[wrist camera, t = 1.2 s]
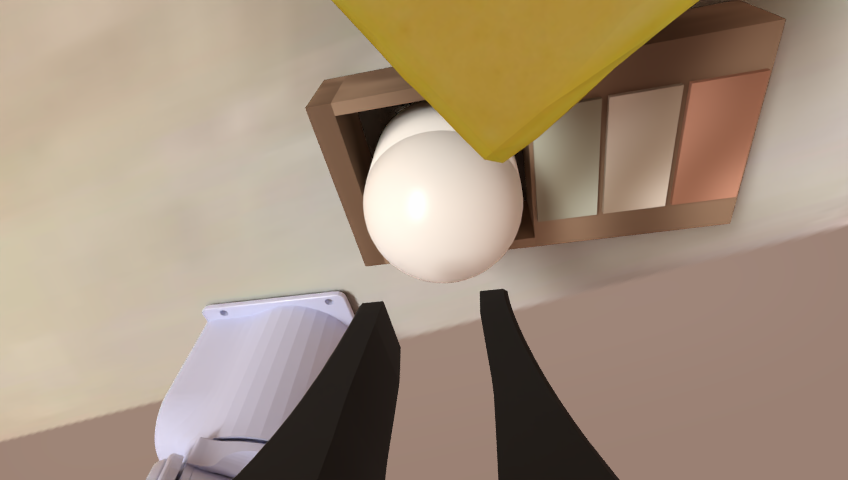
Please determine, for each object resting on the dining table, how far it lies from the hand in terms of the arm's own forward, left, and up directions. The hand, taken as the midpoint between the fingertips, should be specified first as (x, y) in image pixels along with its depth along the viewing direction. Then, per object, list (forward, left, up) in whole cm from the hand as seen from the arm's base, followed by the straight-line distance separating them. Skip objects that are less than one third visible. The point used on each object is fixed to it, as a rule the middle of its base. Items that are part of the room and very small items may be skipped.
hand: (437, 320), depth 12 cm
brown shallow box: (+3, 0, -10) cm, 11 cm away
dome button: (0, 0, -9) cm, 9 cm away
